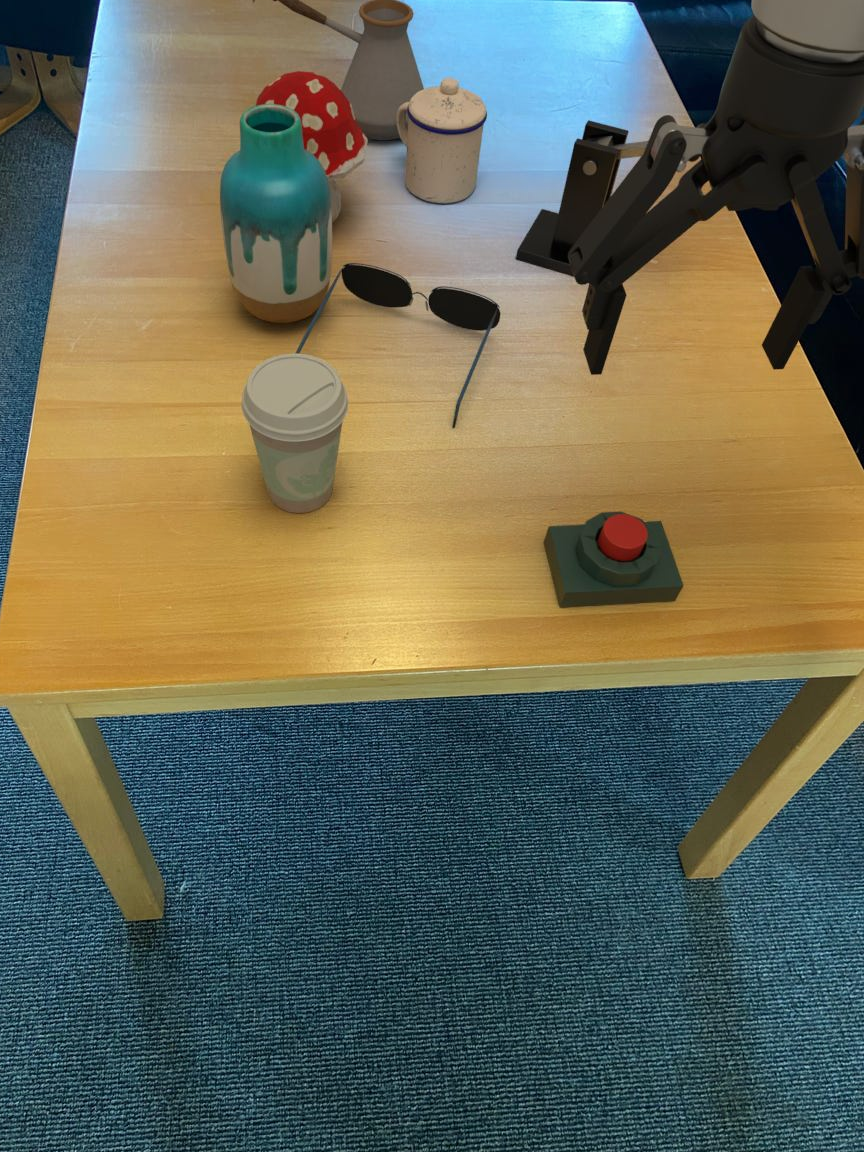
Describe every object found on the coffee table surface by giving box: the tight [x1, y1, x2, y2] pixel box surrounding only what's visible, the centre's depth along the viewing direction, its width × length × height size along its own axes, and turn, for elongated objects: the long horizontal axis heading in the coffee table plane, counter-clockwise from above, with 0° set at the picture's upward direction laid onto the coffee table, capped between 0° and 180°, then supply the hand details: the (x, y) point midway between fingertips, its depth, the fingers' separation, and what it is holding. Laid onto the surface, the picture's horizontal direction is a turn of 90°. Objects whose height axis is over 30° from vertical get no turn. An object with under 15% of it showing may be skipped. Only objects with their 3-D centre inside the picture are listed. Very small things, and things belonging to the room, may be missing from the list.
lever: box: [586, 122, 707, 163], centre depth 87 cm, size 12×5×2 cm, turn 67°
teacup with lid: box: [396, 77, 488, 204], centre depth 100 cm, size 12×9×12 cm
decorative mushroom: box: [254, 70, 369, 224], centre depth 93 cm, size 14×14×15 cm
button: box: [598, 514, 648, 561], centre depth 70 cm, size 4×4×2 cm
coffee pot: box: [252, 0, 425, 141], centre depth 105 cm, size 21×12×15 cm, turn 89°
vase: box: [219, 104, 333, 324], centre depth 83 cm, size 11×11×19 cm
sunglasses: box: [295, 262, 501, 429], centre depth 86 cm, size 17×15×5 cm
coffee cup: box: [241, 352, 349, 514], centre depth 72 cm, size 8×8×12 cm
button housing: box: [543, 511, 685, 608], centre depth 72 cm, size 10×7×4 cm
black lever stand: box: [515, 120, 629, 277], centre depth 93 cm, size 11×9×13 cm
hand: (682, 360), depth 63 cm, fingers open, 13 cm apart
